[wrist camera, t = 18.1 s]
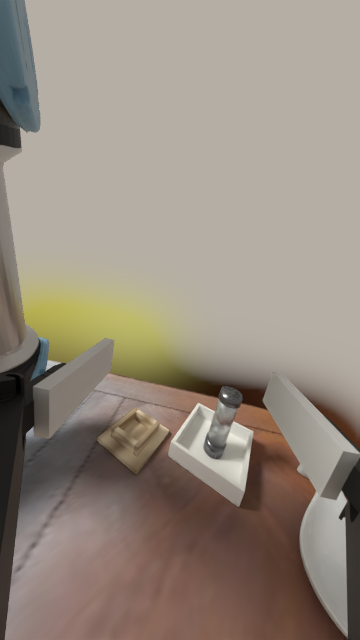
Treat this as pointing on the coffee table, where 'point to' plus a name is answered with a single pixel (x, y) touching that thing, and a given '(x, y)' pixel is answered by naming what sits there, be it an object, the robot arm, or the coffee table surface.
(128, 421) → the socket block
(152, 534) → the coffee table surface
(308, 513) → the spoon rest
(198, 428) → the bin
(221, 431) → the capped clear cylinder
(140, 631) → the coffee table surface
